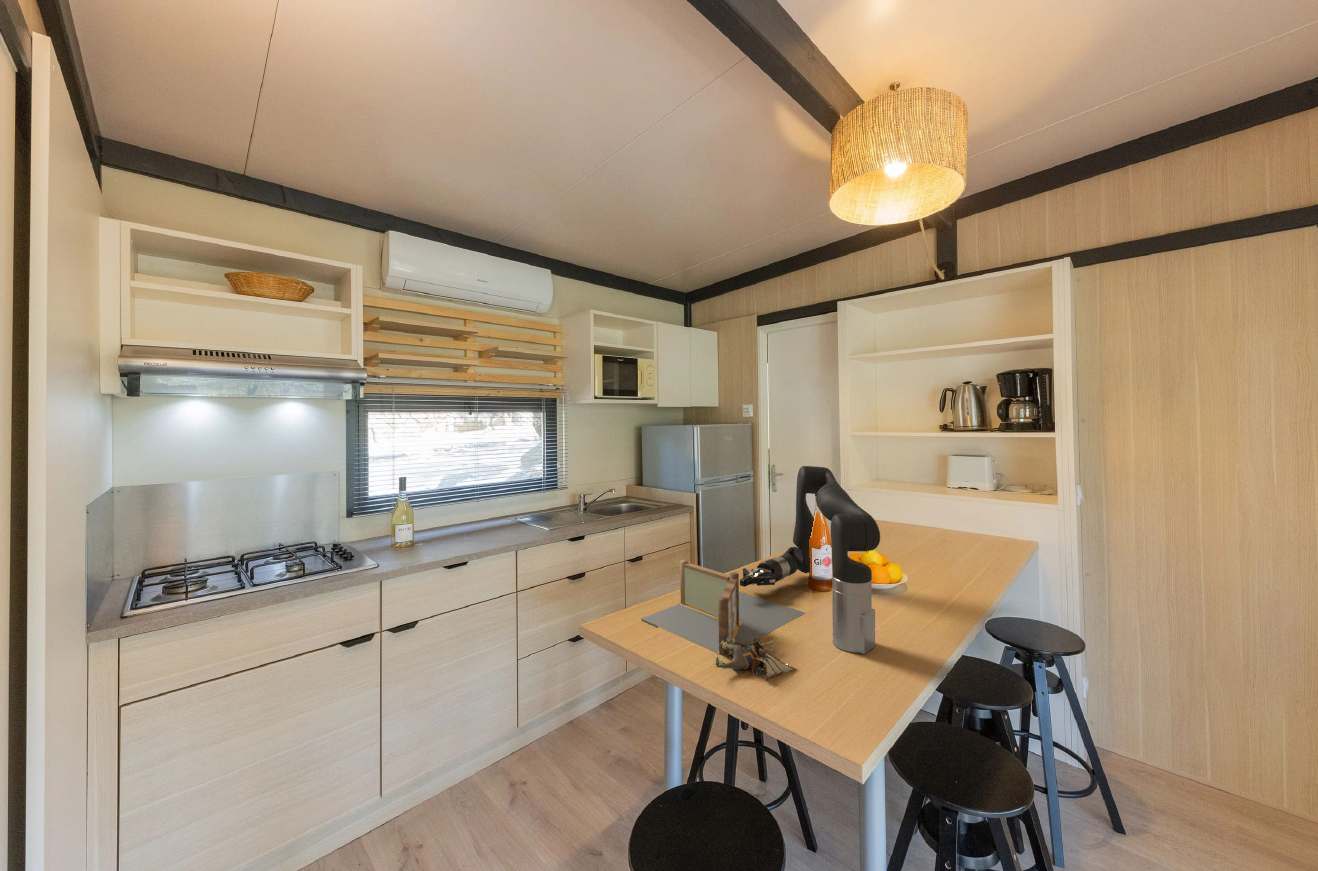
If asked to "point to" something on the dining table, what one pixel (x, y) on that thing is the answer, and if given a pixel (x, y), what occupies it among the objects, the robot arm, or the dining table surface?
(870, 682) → the dining table surface
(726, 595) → the post
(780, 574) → the robot arm
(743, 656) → the figurine
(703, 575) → the fence gate
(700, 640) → the card
